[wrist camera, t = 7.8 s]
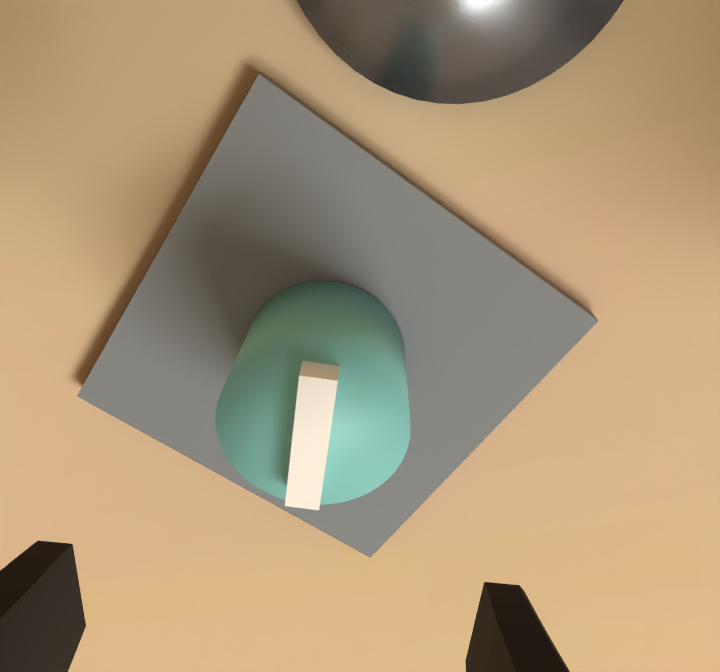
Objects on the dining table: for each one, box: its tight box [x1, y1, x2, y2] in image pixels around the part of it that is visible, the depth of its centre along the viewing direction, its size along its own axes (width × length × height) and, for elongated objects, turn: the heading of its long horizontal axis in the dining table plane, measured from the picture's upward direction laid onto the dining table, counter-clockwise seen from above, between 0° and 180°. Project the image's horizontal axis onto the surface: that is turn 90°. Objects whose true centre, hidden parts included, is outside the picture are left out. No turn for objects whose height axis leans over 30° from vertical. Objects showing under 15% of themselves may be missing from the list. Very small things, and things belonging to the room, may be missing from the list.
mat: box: [77, 74, 598, 557], centre depth 19 cm, size 12×12×1 cm
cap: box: [215, 281, 410, 510], centre depth 17 cm, size 5×5×5 cm
